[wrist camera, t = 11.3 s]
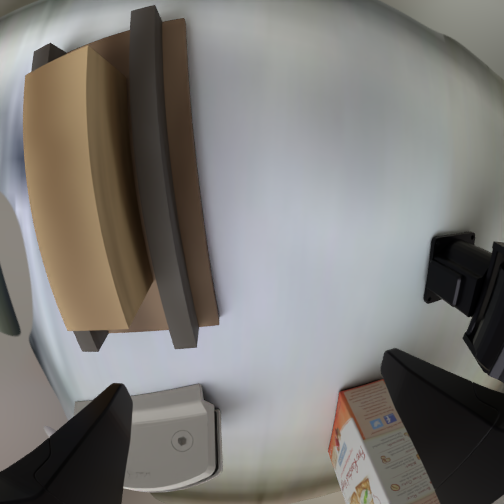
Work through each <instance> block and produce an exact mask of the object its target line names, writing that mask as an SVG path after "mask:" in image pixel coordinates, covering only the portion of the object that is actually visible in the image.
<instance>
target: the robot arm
mask: <svg viewBox="0 0 504 504" xmlns="http://www.w3.org/2000/svg"><path fill="white" fill-rule="evenodd" d="M474 241H475V233H473V232H464V233H457V234H450V235H444V236H437V237H434V238H433V239H432V242H431V252H430V261H429V268H428V275H427V282H426V288H425V294H424V301H425V302H426V303H427V304H429V303H432V302H435V301H438V300H441V299H443V300H444V301H446V302H447V303H448V304H450V305H451V306H452V307H455V308H457V309H458V310H459V311H461V312H462V313H463V314H465V315H466V316H467V317H472V319H471V322H470V324H469V327H468V329H467V331H466V332H465V334H464V336H463V340H464V341H465V343H466V344H467V346H468V348H469V349H470V351H471V352H472V354H473V356H474V357H475V359H476V360H477V362H478V364H479V365H480V367H481V368H482V370H483V371H484V372H485V373H487V374H488V375H489V376H491V377H493V378H496V379H498V380H500V381H501V382H503V383H504V243H502V242H495V241H494V242H493V247H492V248H493V251H492V253H491V252H488V251H486V250H484V249H482V248H480V247H477V246H475V245H474ZM436 242H437V243H436ZM381 374H382V377H383V379H384V382H385V384H386V387H387V389H388V392H389V395H390V397H391V400H392V402H393V405H394V407H395V409H396V411H397V413H398V415H399V417H400V419H401V421H402V423H403V425H404V427H405V429H406V431H407V433H408V435H409V437H410V439H411V441H412V443H413V445H414V447H415V449H416V451H417V453H418V455H419V457H420V459H421V462H422V464H423V466H424V468H425V470H426V472H427V474H428V477H429V479H430V481H431V483H432V486H433V488H434V490H435V493H436V495H437V497H438V500H439V502H440V504H504V393H501V392H497V391H494V390H491V389H489V388H486V387H484V386H481V385H479V384H476V383H474V382H473V383H472V382H471V381H469V380H467V379H464V378H462V377H460V376H457V375H455V374H453V373H451V372H448V371H446V370H444V369H441V368H439V367H437V366H435V365H432V364H430V363H428V362H426V361H423V360H421V359H419V358H417V357H415V356H412V355H410V354H408V353H406V352H404V351H401V350H399V349H397V348H393V349H390V350H387V351H385V353H384V356H383V361H382V365H381ZM132 412H133V401H132V398H131V396H130V394H129V392H128V390H127V388H126V387H125V385H124V384H122V383H113V384H111V385H110V386H109V387H108V388H106V389H105V390H104V391H103V392H102V393H101V394H99V395H98V396H97V397H96V398H95V399H94V400H92V401H91V402H90V403H89V404H88V405H87V406H85V407H84V408H83V409H82V410H81V411H80V412H78V413H77V414H76V415H75V416H74V417H73V418H71V419H70V420H69V421H68V422H67V423H66V424H64V425H63V426H62V427H61V428H60V429H59V430H57V431H56V432H55V433H54V434H53V435H51V436H50V438H48V439H47V440H45V441H44V442H43V443H42V444H41V445H39V446H38V447H37V448H36V449H34V450H33V451H32V452H30V453H29V454H27V455H26V456H25V457H23V458H22V459H20V460H19V461H17V462H16V463H14V464H13V465H11V466H9V467H8V468H6V469H5V470H3V471H1V472H0V504H121V502H122V494H123V486H124V478H125V471H126V465H127V459H128V453H129V447H130V440H131V425H132Z"/></svg>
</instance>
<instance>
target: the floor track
mask: <svg viewBox="0 0 504 504" xmlns="http://www.w3.org/2000/svg"><path fill="white" fill-rule="evenodd" d="M87 45H88V46H90V47H91V48H92V49H93V50H94V51H96V52H97V53H98V54H99V55H101V56H102V57H103V58H104V59H105V60H107V61H108V62H109V63H110V64H111V65H112V66H114V67H115V68H116V69H117V70H118V71H120V72H121V73H122V74H123V75H124V76H125V77H126V85H127V109H128V124H129V136H130V147H131V156H132V165H133V173H134V180H135V187H136V194H137V201H138V207H139V213H140V218H141V224H142V229H143V235H144V240H145V245H146V249H147V254H148V259H149V263H150V268H151V272H152V276H153V280H154V281H153V283H152V285H151V287H150V289H149V291H148V292H147V294H146V296H145V298H144V300H143V302H142V304H141V306H140V308H139V310H138V312H137V314H136V315H135V317H134V319H133V321H132V323H131V325H130V327H129V329H118V330H91V331H73V332H74V334H75V336H76V339H77V341H78V343H79V345H80V348H81V350H82V351H83V352H98V351H99V349H100V348H101V346H102V344H103V342H104V341H105V339H106V337H107V335H108V334H109V333H125V332H144V331H159V330H169V331H170V335H171V338H172V341H173V345H174V348H175V349H184V348H197V340H198V331H199V327H204V326H214V325H219V314H218V308H217V303H216V297H215V291H214V285H213V279H212V273H211V266H210V260H209V253H208V247H207V240H206V233H205V226H204V219H203V212H202V204H201V196H200V188H199V180H198V172H197V163H196V154H195V144H194V135H193V124H192V113H191V101H190V89H189V75H188V59H187V40H186V23H185V19H184V18H181V19H176V20H170V21H165V22H162V20H161V18H160V16H159V13H158V11H157V9H156V6H155V5H153V6H149V7H145V8H141V9H137V10H133V11H131V22H130V30H128V31H125V32H121V33H118V34H115V35H112V36H109V37H106V38H103V39H100V40H97V41H95V42H92V43H89V44H87ZM87 45H84V46H82V47H85V46H87ZM82 47H79V48H77V49H80V48H82ZM77 49H75V50H77ZM75 50H72V51H70V52H73V51H75ZM70 52H68V53H70ZM68 53H66V52H64V51H63V50H61V49H60V48H58V47H56V46H55V45H53V44H51V43H49V44H47V45H45V46H43V47H42V48H40V49H38V50H36V51H34V56H33V63H32V71H34V70H36V69H38V68H40V67H41V66H43V65H45V64H47V63H49V62H51V61H53V60H55V59H57V58H59V57H62V56H64V55H66V54H68ZM32 71H31V72H32Z"/></svg>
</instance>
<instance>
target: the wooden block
mask: <svg viewBox="0 0 504 504" xmlns="http://www.w3.org/2000/svg"><path fill="white" fill-rule="evenodd" d="M23 141H24V158H25V170H26V179H27V187H28V194H29V201H30V207H31V212H32V218H33V223H34V227H35V232H36V236H37V241H38V245H39V249H40V252H41V256H42V260H43V263H44V267H45V270H46V273H47V277H48V280H49V283H50V286H51V289H52V292H53V295H54V297H55V300H56V303H57V306H58V308H59V311H60V313H61V316H62V318H63V321H64V323H65V326H66V328H67V330H68V331H91V330H118V329H129V327H130V325H131V323H132V321H133V319H134V317H135V315H136V314H137V312H138V310H139V308H140V306H141V304H142V302H143V300H144V298H145V296H146V294H147V292H148V291H149V289H150V287H151V285H152V283H153V281H154V280H153V276H152V272H151V268H150V263H149V259H148V254H147V249H146V245H145V240H144V235H143V229H142V224H141V218H140V213H139V207H138V201H137V194H136V187H135V180H134V173H133V165H132V156H131V147H130V136H129V124H128V109H127V85H126V77H125V76H124V75H123V74H122V73H121V72H120V71H118V70H117V69H116V68H115V67H114V66H112V65H111V64H110V63H109V62H108V61H107V60H105V59H104V58H103V57H102V56H101V55H99V54H98V53H97V52H96V51H94V50H93V49H92V48H91V47H90V46H88V45H87V46H85V47H82V48H80V49H77V50H75V51H73V52H70V53H68V54H66V55H64V56H62V57H59V58H57V59H55V60H53V61H51V62H49V63H47V64H45V65H43V66H41V67H40V68H38V69H36V70H34V71H32V72H30V73H29V74H27V75H26V76H25V87H24V104H23Z"/></svg>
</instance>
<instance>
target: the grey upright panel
mask: <svg viewBox="0 0 504 504" xmlns="http://www.w3.org/2000/svg"><path fill="white" fill-rule="evenodd" d="M131 398H132V401H133V412H132V425H131V440H130V447H129V453H128V459H127V465H126V471H125V478H124V486H123V488H125V489H130V490H136V491H142V492H169V491H176V490H182V489H186V488H189V487H192V486H196V485H199V484H201V483H204V482H206V481H208V480H211V479H213V478H215V477H217V476H219V475H220V474H221V472H222V470H223V461H222V437H221V413H220V410H219V409H217V410H214V405H213V404H211V403H209V402H207V401H205V400H204V399H203V391H202V386H201V385H200V384H196V385H191V386H186V387H181V388H176V389H171V390H166V391H160V392H155V393H149V394H142V395H136V396H131ZM90 402H91V401H80V402H75V409H74V416H75V415H76V414H77V413H78V412H80V411H81V410H82V409H83V408H84V407H85V406H87V405H88V404H89V403H90Z"/></svg>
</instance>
